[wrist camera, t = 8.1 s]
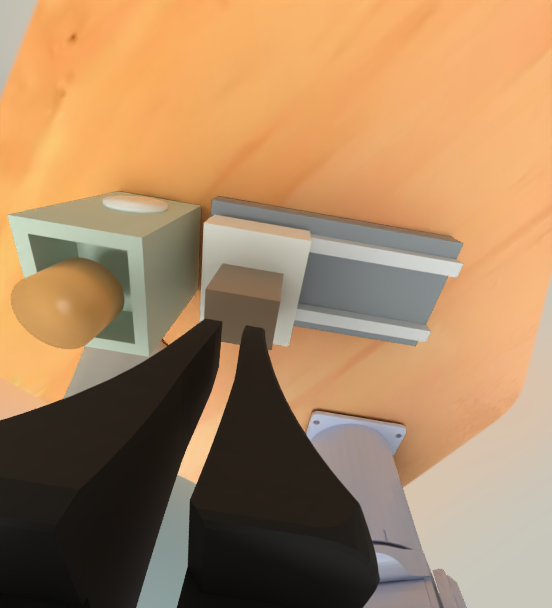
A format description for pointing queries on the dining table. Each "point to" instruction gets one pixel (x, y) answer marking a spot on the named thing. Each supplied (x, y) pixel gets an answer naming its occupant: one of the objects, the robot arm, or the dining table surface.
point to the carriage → (252, 277)
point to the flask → (103, 367)
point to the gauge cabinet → (121, 257)
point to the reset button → (68, 302)
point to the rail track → (362, 272)
